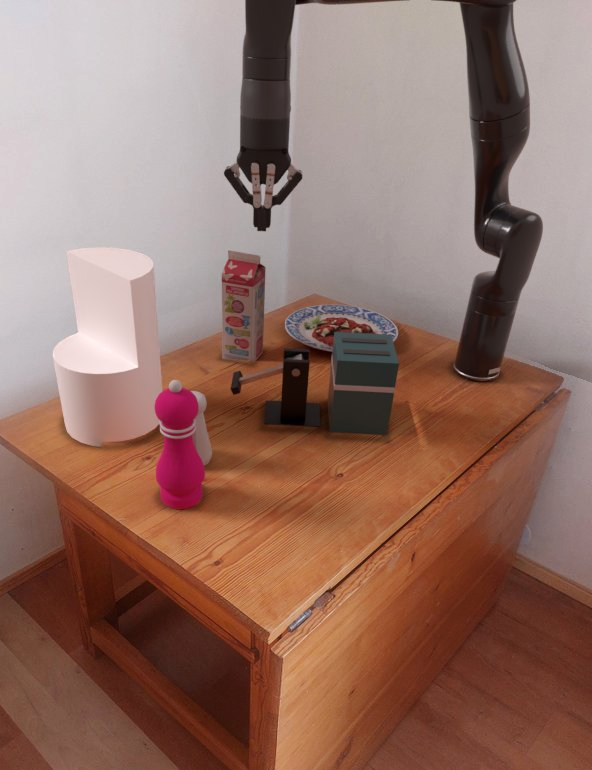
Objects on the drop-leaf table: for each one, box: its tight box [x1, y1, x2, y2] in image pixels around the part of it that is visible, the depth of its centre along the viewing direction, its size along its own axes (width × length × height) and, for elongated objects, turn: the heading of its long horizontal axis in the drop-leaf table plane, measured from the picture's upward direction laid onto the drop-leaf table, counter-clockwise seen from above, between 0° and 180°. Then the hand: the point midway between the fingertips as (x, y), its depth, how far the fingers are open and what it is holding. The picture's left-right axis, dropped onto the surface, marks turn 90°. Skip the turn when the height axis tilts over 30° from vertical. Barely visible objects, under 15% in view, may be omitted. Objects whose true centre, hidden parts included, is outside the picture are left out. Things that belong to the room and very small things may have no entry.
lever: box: [230, 354, 304, 396], centre depth 111 cm, size 13×6×2 cm, turn 87°
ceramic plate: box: [284, 304, 399, 353], centre depth 145 cm, size 26×26×3 cm
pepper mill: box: [155, 379, 206, 510], centre depth 91 cm, size 7×7×20 cm
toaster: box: [327, 332, 400, 436], centre depth 112 cm, size 10×11×15 cm
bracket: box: [263, 347, 322, 428], centre depth 112 cm, size 10×8×13 cm
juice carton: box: [221, 250, 267, 362], centre depth 130 cm, size 7×7×22 cm
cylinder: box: [52, 246, 164, 448], centre depth 105 cm, size 17×17×28 cm
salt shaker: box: [190, 390, 213, 467], centre depth 100 cm, size 6×6×13 cm
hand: (262, 229), depth 106 cm, fingers closed
